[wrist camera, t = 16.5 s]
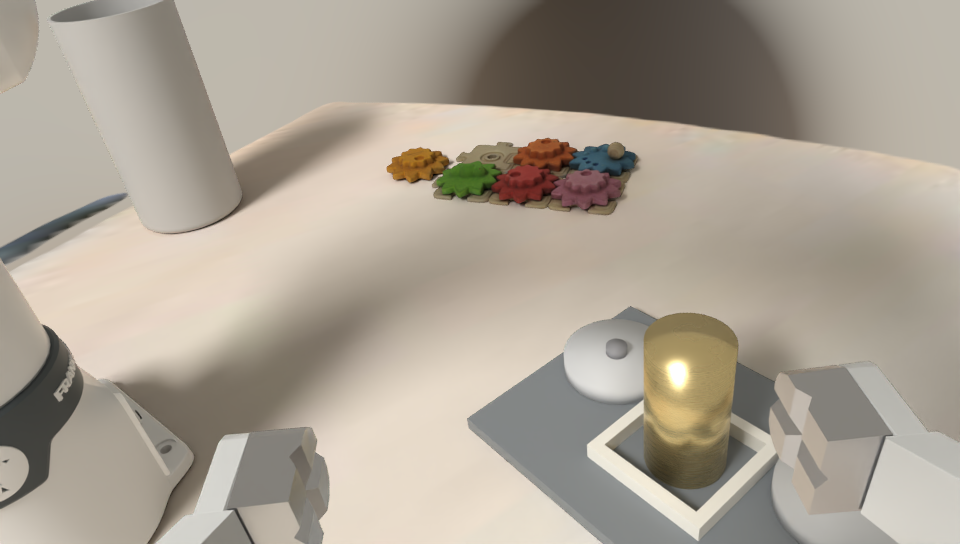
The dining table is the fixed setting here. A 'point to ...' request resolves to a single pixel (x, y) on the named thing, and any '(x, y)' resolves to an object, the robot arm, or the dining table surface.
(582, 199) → the gear puzzle
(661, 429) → the brushed brass cylinder
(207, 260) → the dining table surface
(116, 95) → the cylinder vase
